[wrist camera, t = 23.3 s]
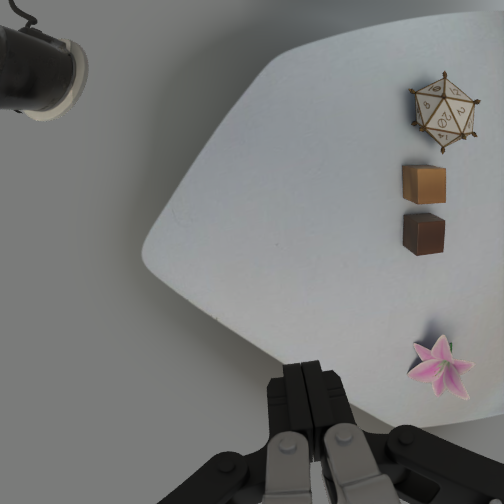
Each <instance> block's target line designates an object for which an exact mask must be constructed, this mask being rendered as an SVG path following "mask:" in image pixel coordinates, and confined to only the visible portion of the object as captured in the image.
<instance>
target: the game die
mask: <svg viewBox="0 0 504 504" xmlns="http://www.w3.org/2000/svg"><path fill="white" fill-rule="evenodd" d="M442 74H443V77H444V78H443V79H440V80H438V81H436V82H434V83H432V84H430V85H428V86H426V87H424V88H422V89H420V90H418V91H416V92H415V91H414V90H413V89H409V91H410V93H413V94H415V106H416V121H414V122H413V123H412V124H411V125H414V126H415V125H417V124H418V125H419V126H420V128H419V129H420V131H422V132H424V131H426V132H427V133H428V134H429V135H430V136H431V137H432V138H433V139H434V140H435V141H436V142H438V143H439V144H440V145H441V146H442V148H441V152H442V154H443V153H444V152H445V147H446V146H448V145H450V144H452V143H454V142H456V141H458V140H460V139H465V140H466V136H468V135H470V134H472V135H473V136H474V137H477V135H476V133H475V132H473V121H474V108H475V104H479V103H480V101H481V100H478V99H477V100H475V101H473V100H472V99H470V98H469V97H468V96H467V95H466V94H465V93H463V92H462V91H461V90H460V89H459V88H458V87H456V86H455V85H454V84H453V83H451V82H450V81H449V80H448V79H446V77H447V73H446V72H445V71H444V72H443V73H442Z"/></svg>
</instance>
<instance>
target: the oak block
mask: <svg viewBox="0 0 504 504" xmlns="http://www.w3.org/2000/svg"><path fill="white" fill-rule="evenodd" d="M402 170H403V198H404V199H407V200H409V201H411V202H414V203H416V204H432V203H446V169H445V168H441V167H436V166H431V165H407V166H402Z"/></svg>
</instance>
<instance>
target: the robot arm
mask: <svg viewBox="0 0 504 504" xmlns="http://www.w3.org/2000/svg"><path fill="white" fill-rule="evenodd" d="M9 4H10V6H11V8H12V10H13V11H14V12H15V13H16V14H18V15H20V16H21V17H23V18H25V19H27V20H29V21H28V22H27V24H26V26H25V27H23V28H21V29H20V30H18V31H16V30H13V29H10V28H7V27H4V26H1V25H0V109H9V110H10V109H11V110H14V111H16V112H17V113H22V112H20V111H19V110H30V111H37V112H46V111H49V110H52V109H54V108H55V107H57V106H58V105H59V104H61V103H62V102H63V100H64V99H65V98H66V97H67V95H68V94H69V92H70V90H71V88H72V86H73V84H74V81H75V77H76V61H75V58H74V56H73V54H72V53H71V52H70V51H69V50H68V49H66V43H65V42H63V41H60V40H58V39H55V38H53V37H51V36H49V35H46V34H43V33H42V31H40V30H37V29H35V28H30V26H31V25H35V24H37V19H36V18H34V17H33V16H31V15H29V14H26V13H25V12H23V11H21V10H20V9H19V8H17V6H16V5H15V3H14V1H13V0H9ZM283 374H284V377H280V378H271V380H270V382H269V384H268V386H267V398H268V415H269V433H270V434H269V440H268V442H267V443H266V445H265V446H264V447H263V448H261V449H260V450H258V451H256V452H254V453H251V454H248V455H245V456H242V455H240V454H239V453H236V452H229V451H227V452H221V453H219V454H216V455H215V456H213V457H212V458H211V459H210V460H209V461H207V462H206V463H205V464H204V465H203V466H202V467H201V468H199V469H198V470H197V471H196V472H195V473H194V474H193V475H191V476H190V477H189V478H188V479H187V480H185V481H184V482H183V483H182V484H181V485H179V486H178V487H177V488H176V489H175V490H174V491H172V492H171V493H170V494H168V495H167V496H166V497H165V498H163V499H162V500H161V501H160V502H158V503H157V504H258V503H261V502H262V504H312V492H311V481H310V462H313V457H314V462H316V461H321V466H322V480H323V483H324V487H325V490H326V493H327V497H328V501H329V504H401V502H400V500H399V498H400V499H402V500H404V501H406V502H408V503H410V504H504V464H502V463H499V462H497V461H494V460H492V459H489V458H487V457H484V456H482V455H479V454H477V453H474V452H472V451H469V450H467V449H465V448H462V447H460V446H458V445H455V444H453V443H451V442H448V441H446V440H444V439H442V438H439V437H437V436H435V435H433V434H430V433H428V432H426V431H424V430H422V429H420V428H417V427H415V426H412V425H401V426H398V427H396V428H394V429H393V430H391V432H390V433H389V434H374V433H368V432H365V431H364V430H362V429H360V428H359V427H358V426H357V424H356V423H355V420H354V417H353V414H352V411H351V408H350V405H349V402H348V399H347V396H346V393H345V390H344V388H343V384H342V381H341V378H340V377H339V376H338V375H337V374H336V373H335V372H334V371H333V370H329V371H323V372H322V369H321V366H320V362H319V360H316V361H309V362H301V364H300V363H294V364H287V365H283Z"/></svg>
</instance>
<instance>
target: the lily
mask: <svg viewBox="0 0 504 504" xmlns="http://www.w3.org/2000/svg"><path fill="white" fill-rule="evenodd" d="M414 347H415V350H416V352H417V354H418V355H419V357H420V358H421V360H422V361H423V362H422V363H420V364H419V365H417V366H416V367H415V368H413V369H412V370H411V371H410V372H409V373H408V374H407V376H408V377H409V378H411V379H414V380H416V381H419V382H424V383H431V382H432V387H433V390H434V393H435V395H436V396H437V397H439V396H441V395H442V394H443V392H444V391H445V390H446V389H447V390H448V391H449V392H450V393H451V394H453V395H455V396H457V397H459V398H462V399H465V400H469V395H468V393H467V391H466V389H465V387H464V385H463V382H462V380H461V378H460V376H459V375H462V374H464V373H466V372H468V371H469V370H470V369H472V368H473V367H474V366H475V363H474V362H470V361H465V360H459V359H453V357H452V354H451V353H452V343H450V347H449V344H448V341H447V338H446V336H445V335H441V336H440V337H439V339H438V340H437V342H436V343H435V345H434V346H433V348H432V350H429V349H427V348H425V347H423V346H421V345H419V344H416V343H414Z"/></svg>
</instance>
